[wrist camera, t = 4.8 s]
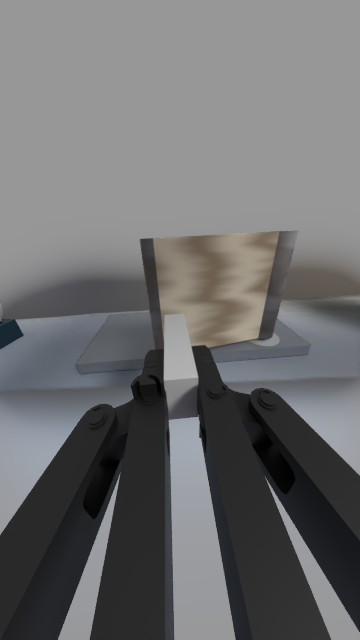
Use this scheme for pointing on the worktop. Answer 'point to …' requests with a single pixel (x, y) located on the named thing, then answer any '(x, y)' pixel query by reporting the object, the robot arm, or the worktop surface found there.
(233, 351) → the grey rectangular base plate
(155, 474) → the robot arm
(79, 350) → the worktop surface
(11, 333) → the watch
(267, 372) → the worktop surface
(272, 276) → the beige upright panel
